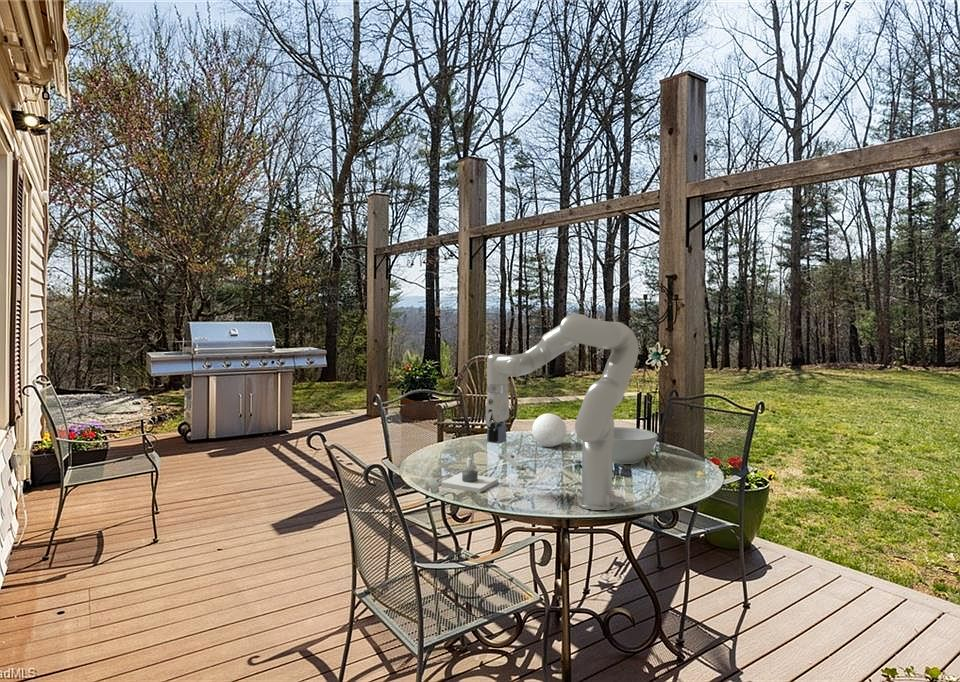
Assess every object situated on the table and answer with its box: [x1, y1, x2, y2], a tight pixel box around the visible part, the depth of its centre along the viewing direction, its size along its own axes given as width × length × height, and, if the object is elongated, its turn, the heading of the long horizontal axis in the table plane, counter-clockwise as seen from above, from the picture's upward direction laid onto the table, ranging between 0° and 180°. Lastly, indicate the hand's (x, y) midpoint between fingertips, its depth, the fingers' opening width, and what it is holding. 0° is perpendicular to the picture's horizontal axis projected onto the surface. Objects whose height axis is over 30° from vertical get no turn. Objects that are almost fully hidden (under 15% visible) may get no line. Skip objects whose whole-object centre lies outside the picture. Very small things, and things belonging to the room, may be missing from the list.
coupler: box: [486, 422, 507, 444], centre depth 193 cm, size 5×5×7 cm
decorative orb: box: [531, 412, 567, 448], centre depth 260 cm, size 20×18×16 cm
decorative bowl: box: [612, 426, 659, 465], centre depth 233 cm, size 27×27×12 cm
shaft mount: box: [440, 457, 499, 494], centre depth 199 cm, size 16×14×10 cm
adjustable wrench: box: [497, 451, 523, 471], centre depth 230 cm, size 25×6×2 cm, turn 9°
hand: (496, 439), depth 193 cm, fingers closed on coupler, 5 cm apart
